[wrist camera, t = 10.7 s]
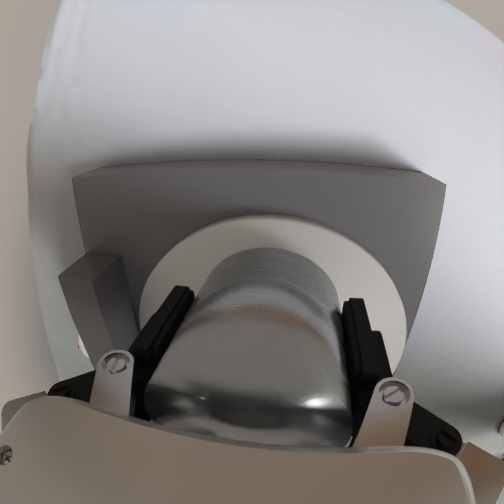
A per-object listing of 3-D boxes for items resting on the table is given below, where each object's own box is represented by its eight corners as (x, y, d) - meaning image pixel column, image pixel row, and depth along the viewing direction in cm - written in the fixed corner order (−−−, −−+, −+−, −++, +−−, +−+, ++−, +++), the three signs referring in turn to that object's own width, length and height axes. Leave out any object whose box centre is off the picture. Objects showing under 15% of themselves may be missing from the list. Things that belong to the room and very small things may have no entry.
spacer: (349, 251, 11) (380, 370, 6) (329, 364, 13) (330, 474, 8) (194, 243, 12) (117, 342, 6) (208, 353, 14) (168, 454, 9)
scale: (423, 172, 14) (481, 205, 8) (363, 402, 22) (368, 463, 16) (98, 167, 17) (29, 194, 11) (149, 379, 25) (122, 430, 19)
